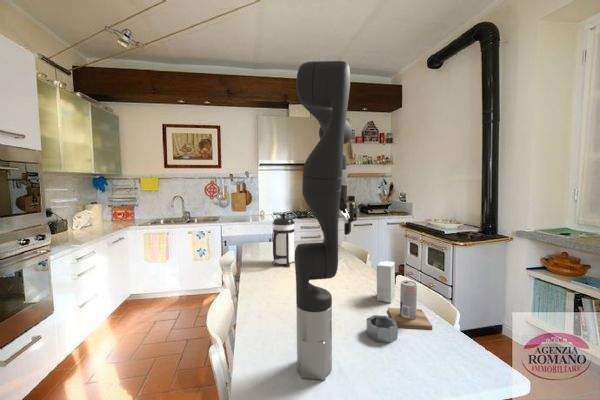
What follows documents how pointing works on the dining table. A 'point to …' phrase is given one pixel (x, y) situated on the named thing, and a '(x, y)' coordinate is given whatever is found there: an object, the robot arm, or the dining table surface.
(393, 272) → the skincare box
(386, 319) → the metal collar
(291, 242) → the coffee press
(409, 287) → the energy drink
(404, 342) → the dining table surface
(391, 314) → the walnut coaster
